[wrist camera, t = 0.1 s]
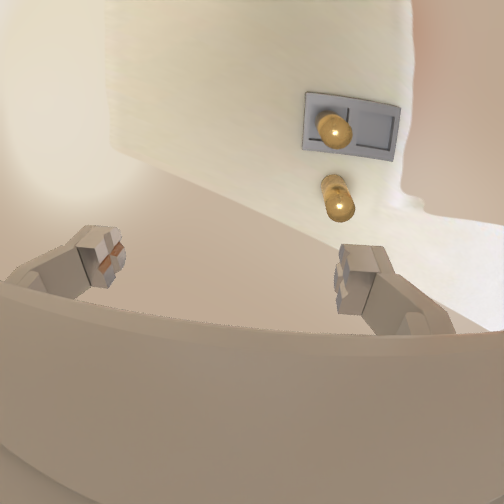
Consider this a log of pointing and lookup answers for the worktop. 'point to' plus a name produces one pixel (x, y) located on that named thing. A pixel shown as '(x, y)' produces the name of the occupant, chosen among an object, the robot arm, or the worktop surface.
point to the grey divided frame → (354, 125)
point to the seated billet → (333, 129)
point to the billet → (337, 198)
